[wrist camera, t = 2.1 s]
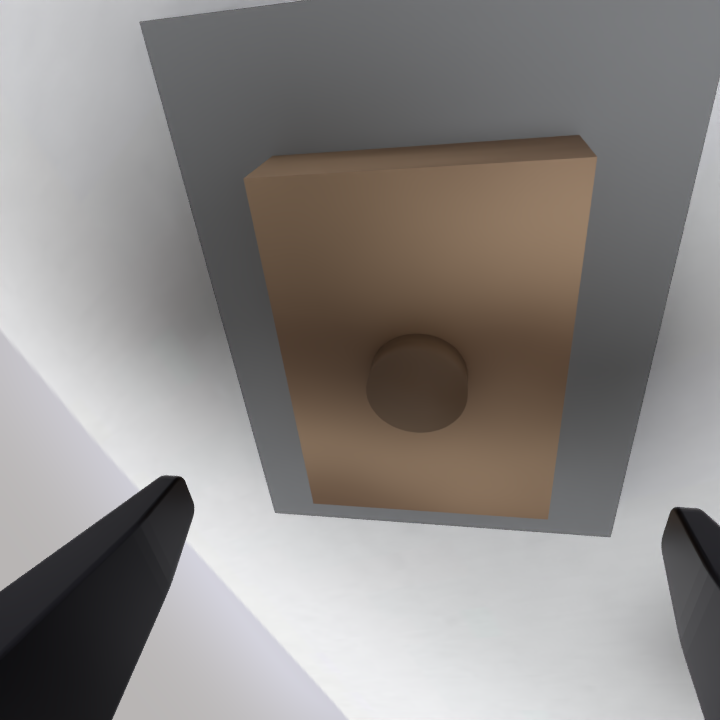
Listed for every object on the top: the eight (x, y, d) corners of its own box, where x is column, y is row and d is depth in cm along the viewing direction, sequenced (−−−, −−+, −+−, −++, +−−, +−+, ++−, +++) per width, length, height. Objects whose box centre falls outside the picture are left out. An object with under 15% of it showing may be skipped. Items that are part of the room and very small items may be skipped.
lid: (540, 469, 17) (551, 542, 15) (327, 458, 18) (306, 524, 16) (579, 134, 11) (606, 167, 9) (272, 156, 13) (229, 189, 11)
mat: (604, 513, 19) (610, 537, 18) (282, 493, 21) (275, 513, 20) (729, -53, 10) (751, -57, 9) (161, 20, 13) (138, 21, 12)
